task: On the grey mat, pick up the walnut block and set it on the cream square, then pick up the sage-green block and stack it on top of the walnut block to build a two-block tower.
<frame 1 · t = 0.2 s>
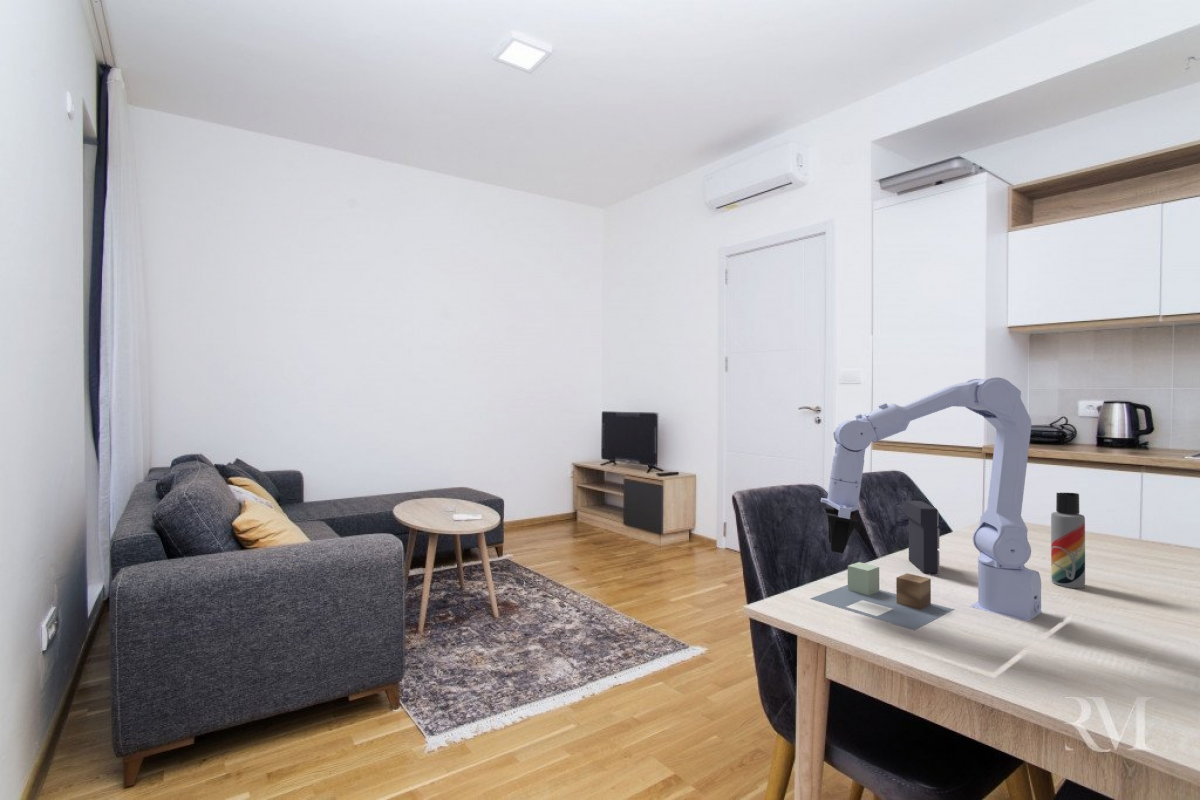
hand: (835, 547, 116), 11 cm above the table, tool pointing down, fingers open, 7 cm apart
sage block: (863, 590, 120), point 1 cm above the table, touching grey mat
walnut block: (913, 603, 112), point 1 cm above the table, touching grey mat
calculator: (922, 568, 138), on the table
grey mat: (880, 606, 112), on the table
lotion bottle: (1068, 585, 125), on the table
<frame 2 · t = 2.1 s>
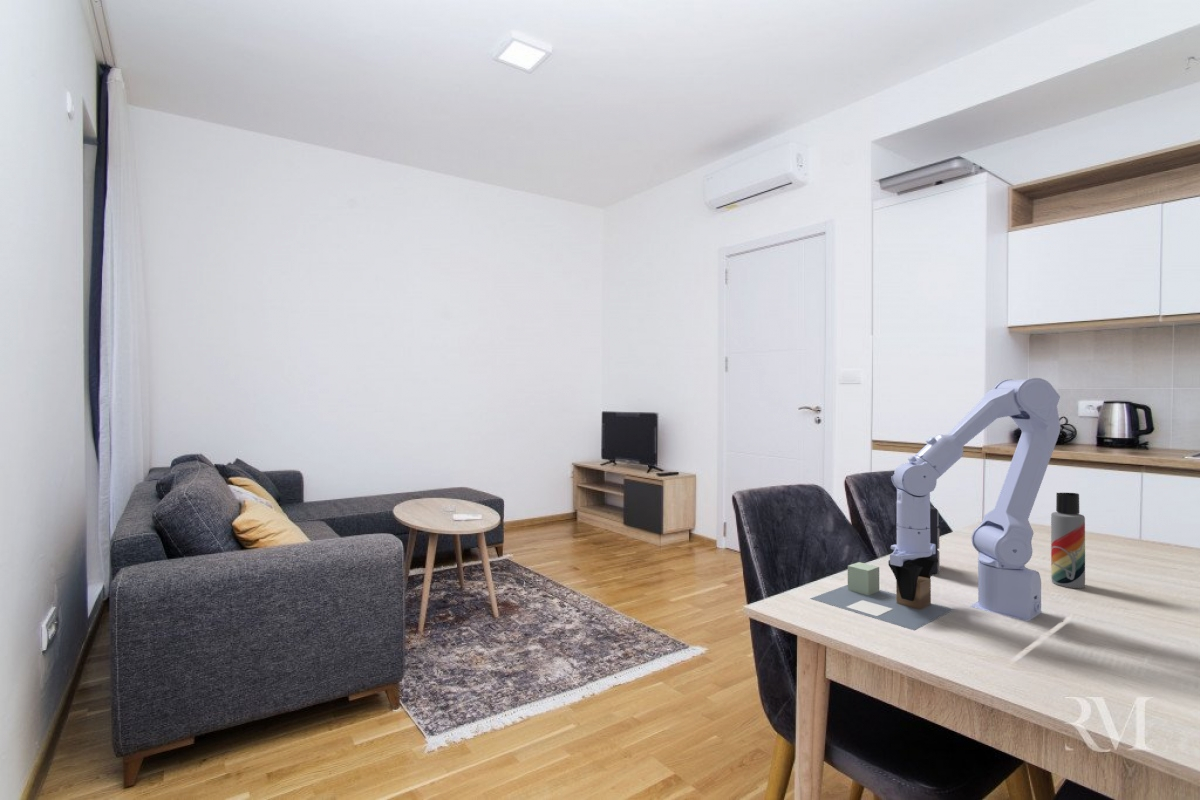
hand: (913, 596, 112), 2 cm above the table, tool pointing down, fingers closed on walnut block, 4 cm apart
walnut block: (913, 603, 112), point 1 cm above the table, touching grey mat, gripper
everything else where it was.
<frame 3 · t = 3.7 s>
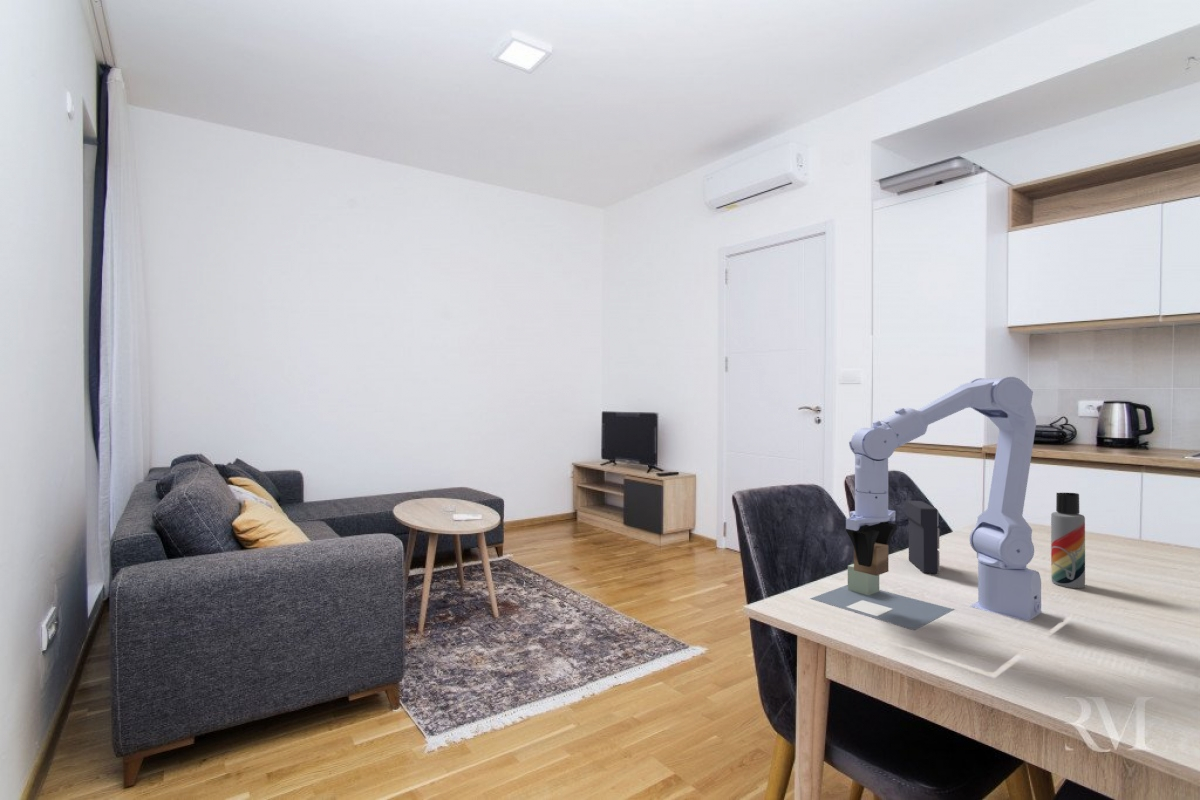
hand: (871, 563, 110), 9 cm above the table, tool pointing down, fingers closed on walnut block, 4 cm apart
walnut block: (871, 570, 110), point 8 cm above the table, touching gripper
everything else where it was.
when the fingers open (4 cm above the table, at t = 5.3 s): walnut block drops 1 cm, resting on grey mat.
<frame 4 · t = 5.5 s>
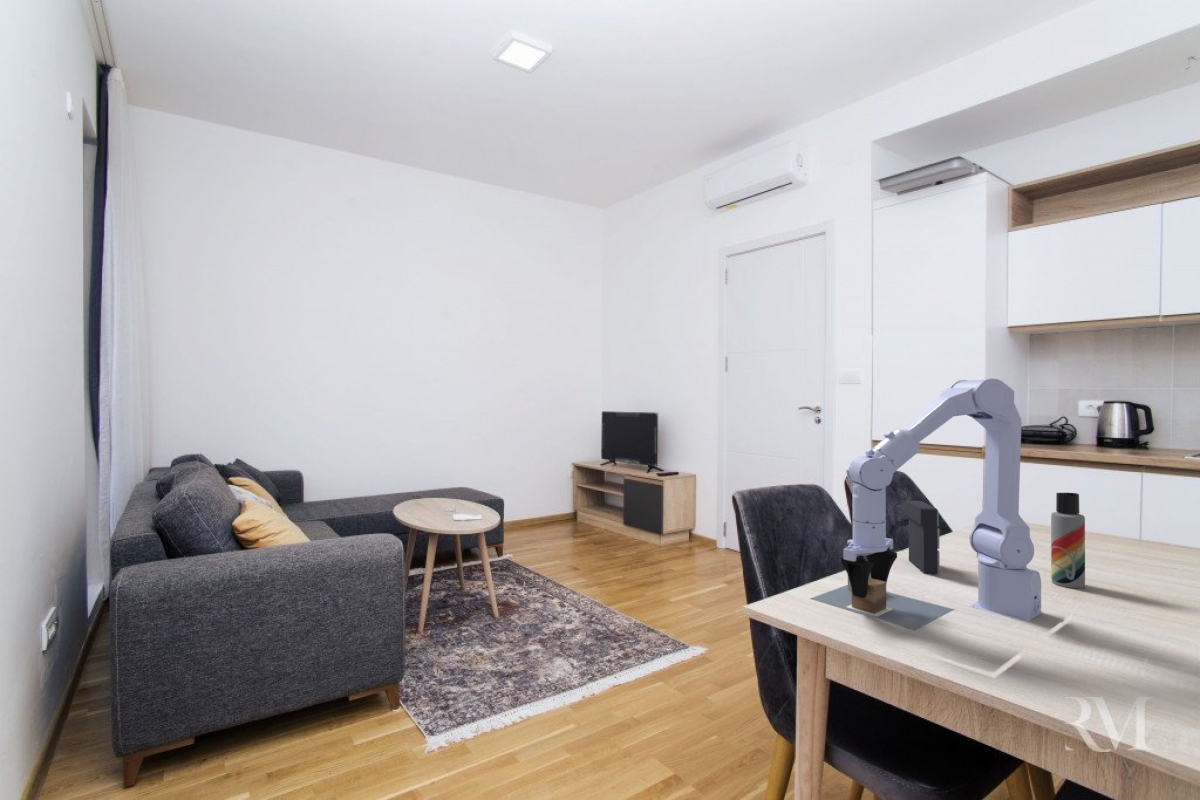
hand: (869, 592, 110), 4 cm above the table, tool pointing down, fingers open, 6 cm apart
walnut block: (868, 607, 110), point 1 cm above the table, touching grey mat
everything else where it was.
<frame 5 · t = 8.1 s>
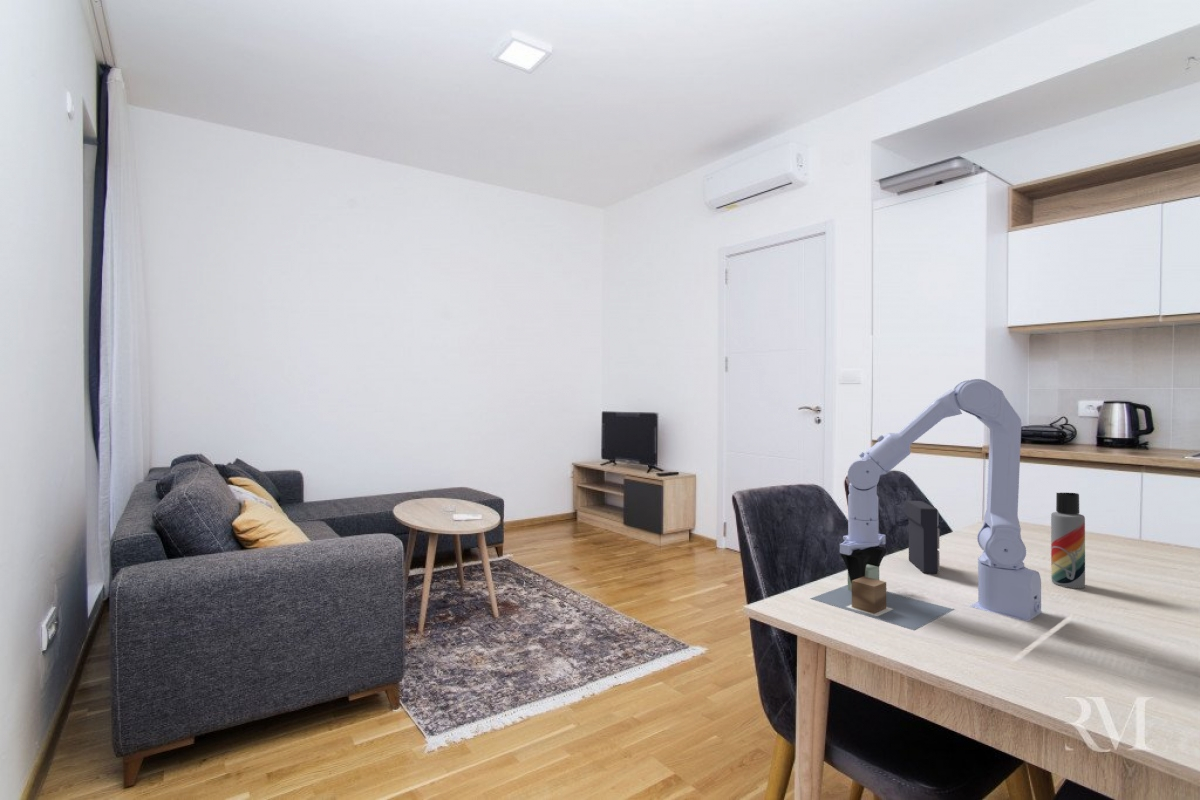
hand: (863, 583, 120), 2 cm above the table, tool pointing down, fingers closed on sage block, 4 cm apart
sage block: (863, 590, 120), point 1 cm above the table, touching grey mat, gripper
everything else where it was.
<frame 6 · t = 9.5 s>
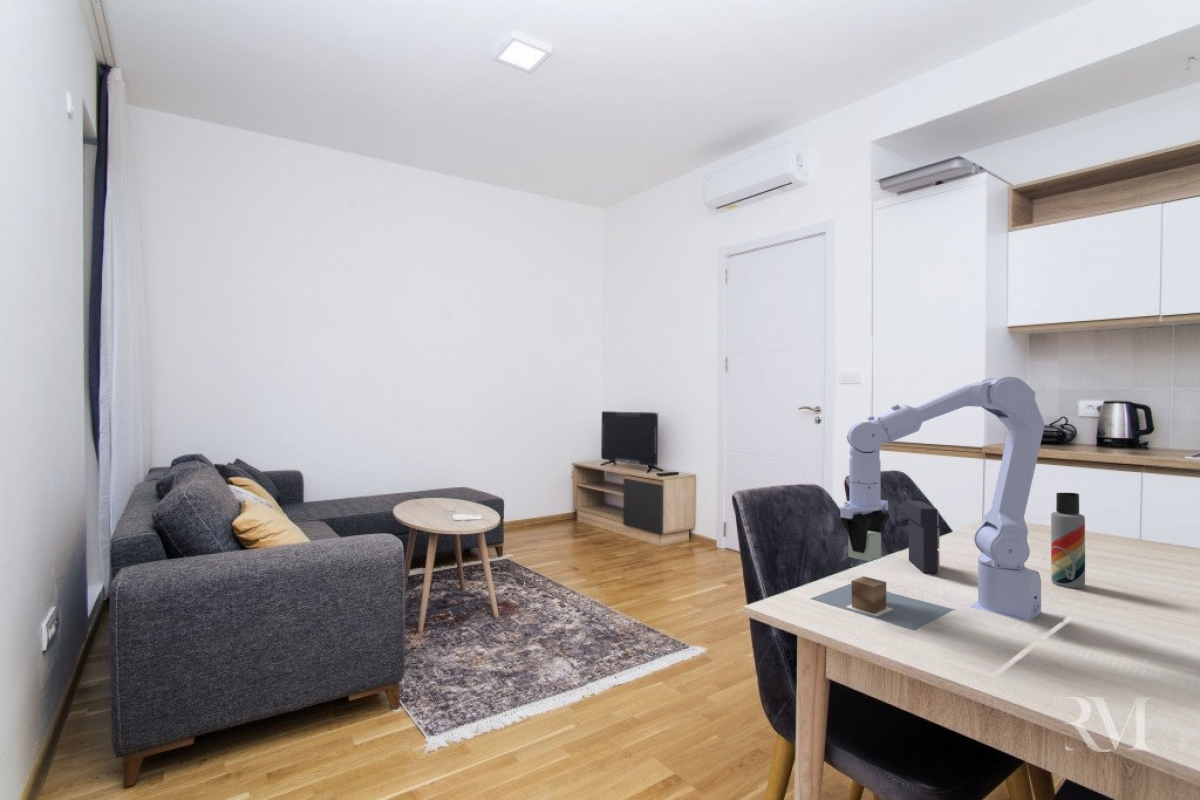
hand: (865, 549, 117), 10 cm above the table, tool pointing down, fingers closed on sage block, 4 cm apart
sage block: (864, 557, 117), point 8 cm above the table, touching gripper
everything else where it was.
when the fingers open (8 cm above the table, at t = 10.8 s): sage block stays where it is, resting on walnut block.
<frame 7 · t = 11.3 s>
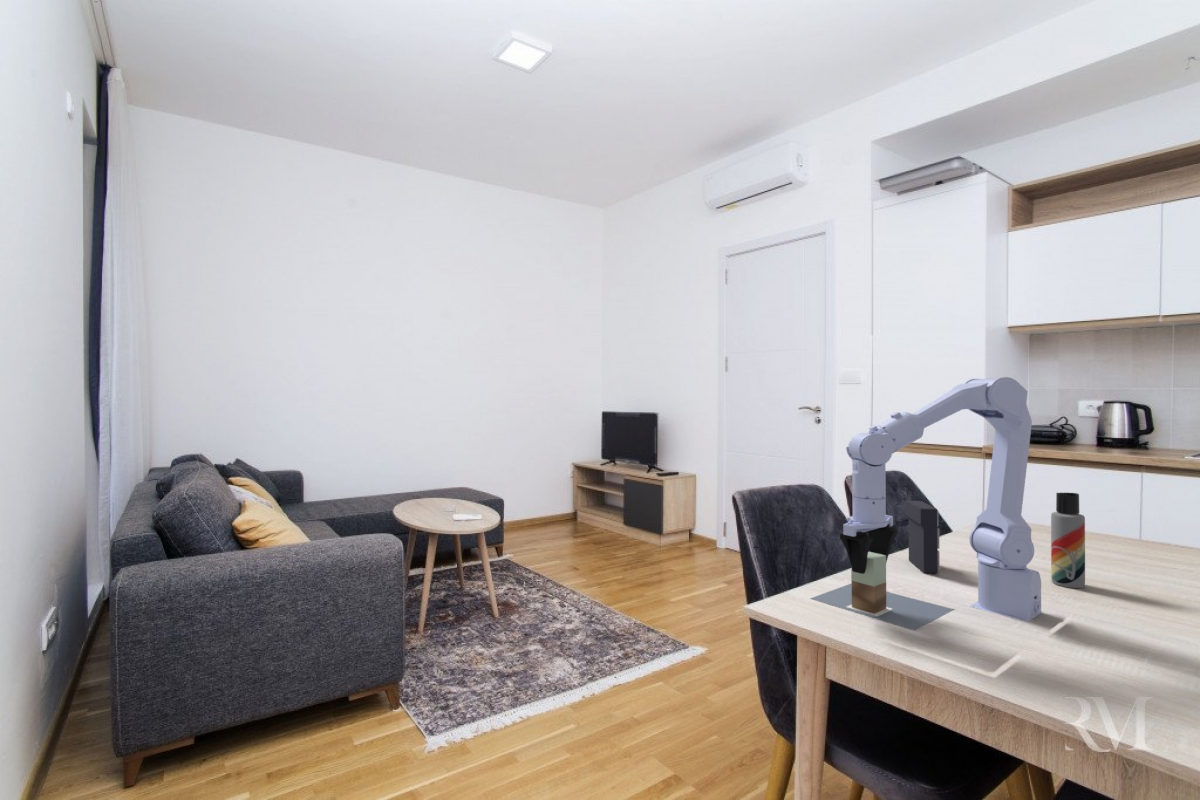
hand: (869, 568, 110), 8 cm above the table, tool pointing down, fingers open, 7 cm apart
sage block: (868, 581, 110), point 6 cm above the table, touching walnut block
walnut block: (868, 607, 110), point 1 cm above the table, touching grey mat, sage block
everything else where it was.
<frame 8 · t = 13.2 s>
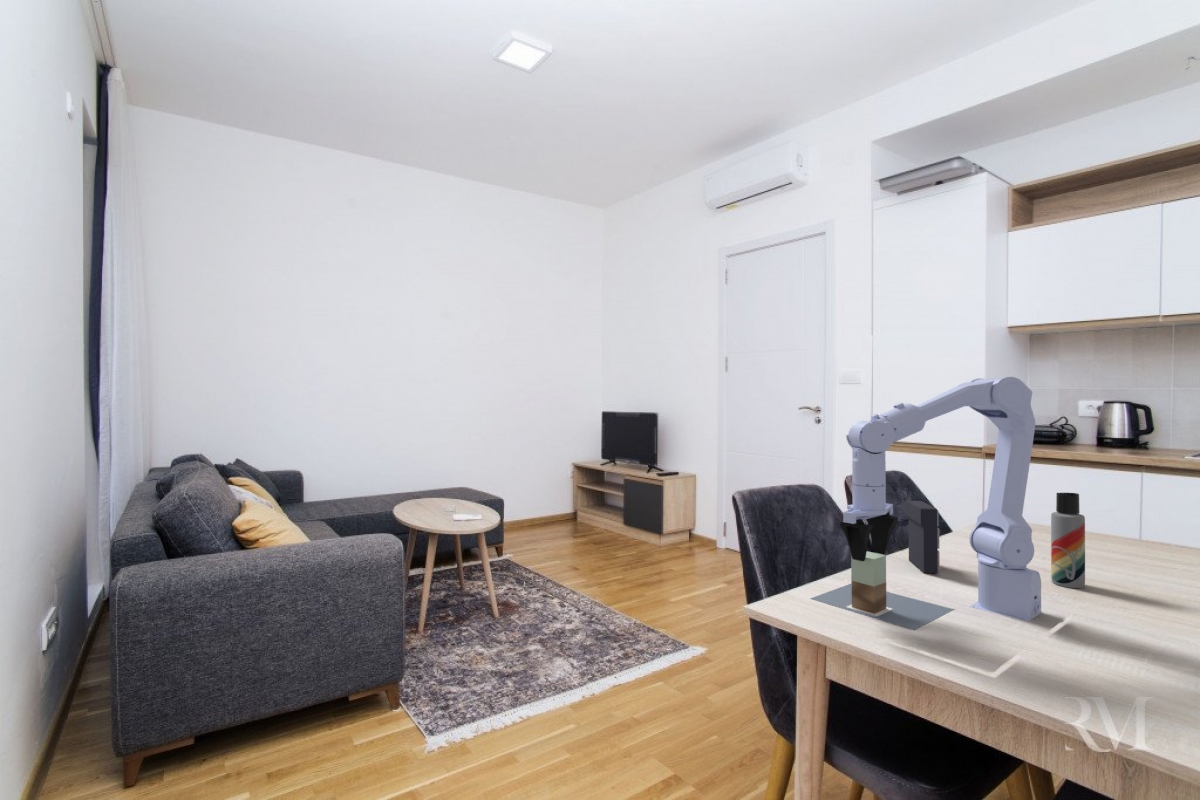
hand: (869, 556, 110), 10 cm above the table, tool pointing down, fingers open, 7 cm apart
nothing on the table moved.
at the end: walnut block 0.1 cm from the target spot on the grey mat, point 0.7 cm above the grey mat's base; sage block 0.1 cm from the walnut block (horizontally); sage block point 5.7 cm above the table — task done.
